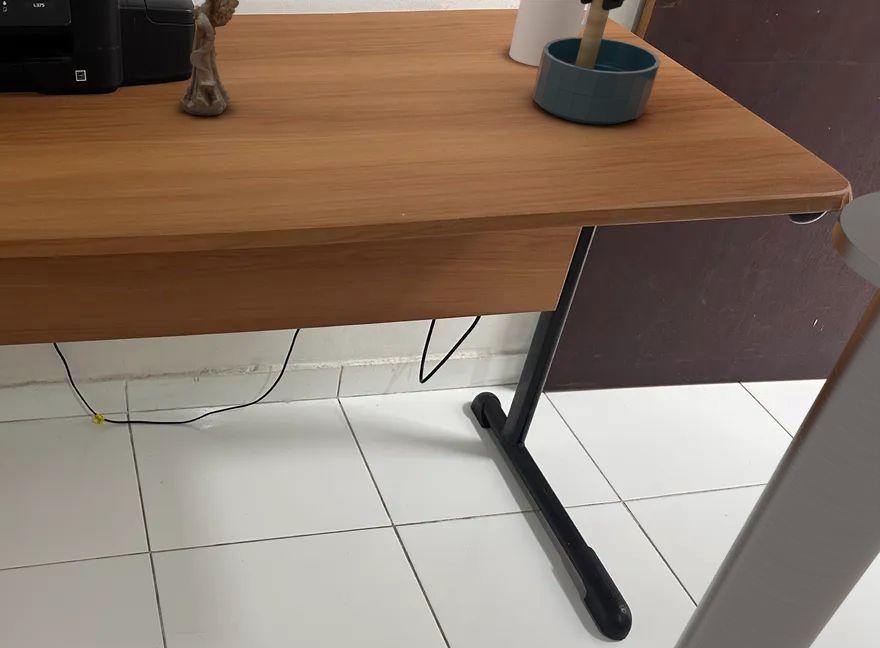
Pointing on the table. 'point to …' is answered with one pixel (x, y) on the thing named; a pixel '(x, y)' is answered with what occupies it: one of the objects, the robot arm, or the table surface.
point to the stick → (592, 35)
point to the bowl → (595, 81)
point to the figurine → (207, 60)
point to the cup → (544, 26)
